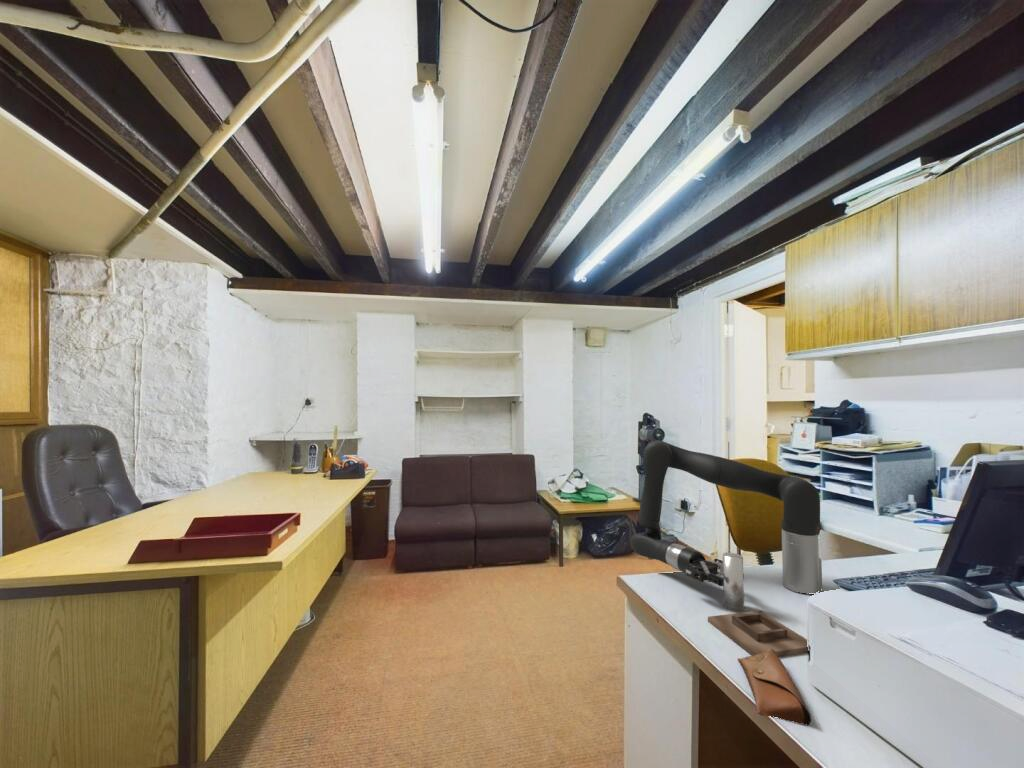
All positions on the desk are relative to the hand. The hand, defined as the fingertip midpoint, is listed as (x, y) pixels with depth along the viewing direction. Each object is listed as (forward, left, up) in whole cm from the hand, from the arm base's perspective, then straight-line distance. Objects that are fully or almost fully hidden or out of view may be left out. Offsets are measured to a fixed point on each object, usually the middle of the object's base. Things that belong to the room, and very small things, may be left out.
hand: (733, 579), depth 113 cm
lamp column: (0, 0, -8) cm, 8 cm away
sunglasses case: (+17, +29, -8) cm, 34 cm away
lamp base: (+4, +13, -8) cm, 16 cm away
